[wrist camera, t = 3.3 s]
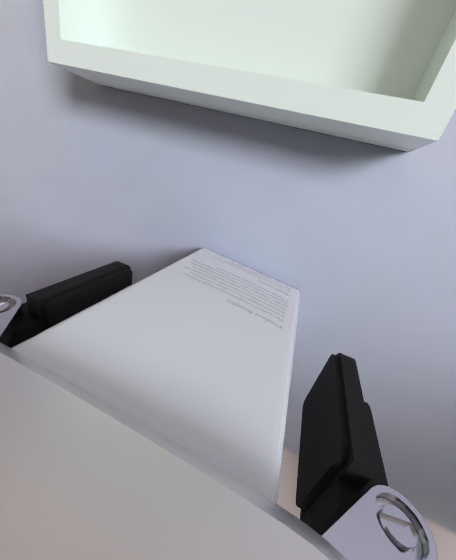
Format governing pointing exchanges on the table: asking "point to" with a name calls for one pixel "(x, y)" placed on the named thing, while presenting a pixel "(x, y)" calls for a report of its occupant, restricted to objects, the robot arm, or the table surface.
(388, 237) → the table surface
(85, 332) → the skincare box
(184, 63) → the sage tray
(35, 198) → the table surface
